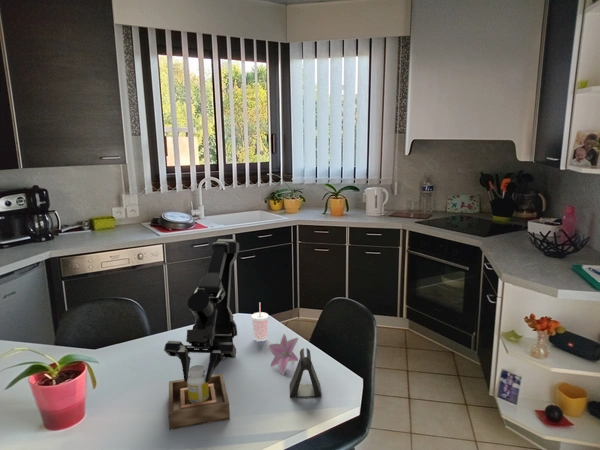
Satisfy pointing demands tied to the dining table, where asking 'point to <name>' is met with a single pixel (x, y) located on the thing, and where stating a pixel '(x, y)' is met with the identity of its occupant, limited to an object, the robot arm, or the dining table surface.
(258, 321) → the beverage cup
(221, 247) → the robot arm
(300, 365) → the phone stand
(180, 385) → the box
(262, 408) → the dining table surface
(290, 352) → the lily
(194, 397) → the supplement bottle
